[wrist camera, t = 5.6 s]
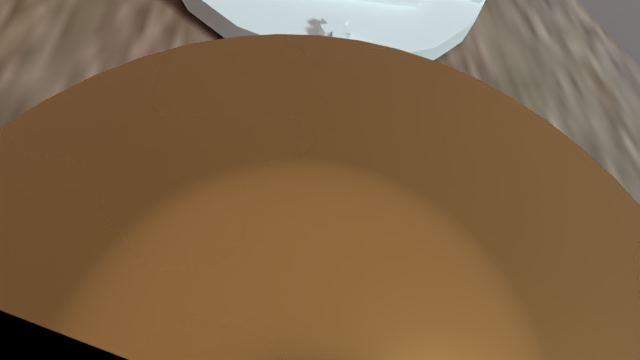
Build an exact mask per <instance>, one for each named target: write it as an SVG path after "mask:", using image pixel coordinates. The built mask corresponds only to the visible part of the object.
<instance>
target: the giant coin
mask: <svg viewBox="0 0 640 360" xmlns="http://www.w3.org/2000/svg"><path fill="white" fill-rule="evenodd" d="M182 1H183V3H184V5H185V6H186V8H187V9H188V11H189V12H191V13H192V14H193V15H195V16H196V17H197V18H199V19H200V20H201V21H203V22H204V23H205V24H206V25H208V26H209V27H210V28H212V29H213V30H214V31H216V32H217V33H218V34H220V35H221V36H222V37H224V38H230V37H239V36H254V35H268V34H296V35H321V36H329V37H337V38H345V39H353V40H360V41H364V42H369V43H373V44H378V45H382V46H387V47H391V48H396V49H400V50H403V51H406V52H409V53H412V54H415V55H418V56H421V57H424V58H427V59H431V60H435V59H437V58H438V57H440V56H441V55H442V54H444V53H445V52H447V51H448V50H450V49H451V48H453V47H454V46H456V45H457V44H459V43H460V42H462V41H463V39H464V38H465V36H466V34H467V33H468V31H469V30H470V28H471V27H472V25H473V24H474V22H475V20H476V18H477V16H478V14H479V12H480V10H481V8H482V6H483V4H484V2H485V0H182Z"/></svg>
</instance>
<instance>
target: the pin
mask: <svg viewBox="0 0 640 360" xmlns="http://www.w3.org/2000/svg"><path fill="white" fill-rule="evenodd" d="M0 360H640V205H639V204H638V203H637V202H636V201H635V200H634V199H633V198H632V196H631V195H630V194H629V193H628V192H627V191H626V190H625V189H624V188H623V187H622V186H621V184H620V183H619V182H618V181H617V180H616V179H615V178H614V177H613V176H612V175H610V174H609V173H608V172H607V171H606V170H605V169H604V168H603V167H602V166H601V165H600V164H599V163H597V162H596V161H595V160H594V159H593V158H592V157H591V156H590V155H589V154H588V153H587V152H586V151H584V150H583V149H582V148H581V147H580V146H579V145H577V144H576V143H575V142H573V141H572V140H571V139H570V138H568V137H567V136H566V135H564V134H563V133H562V132H561V131H559V130H558V129H557V128H556V127H554V126H553V125H552V124H550V123H549V122H548V121H547V120H545V119H544V118H542V117H540V116H539V115H537V114H536V113H534V112H533V111H531V110H530V109H528V108H527V107H525V106H524V105H522V104H521V103H519V102H517V101H516V100H514V99H513V98H511V97H510V96H508V95H506V94H504V93H502V92H500V91H498V90H497V89H495V88H493V87H491V86H489V85H487V84H485V83H483V82H482V81H480V80H478V79H476V78H474V77H472V76H470V75H467V74H465V73H463V72H460V71H458V70H455V69H453V68H451V67H448V66H446V65H444V64H441V63H439V62H437V61H434V60H431V59H427V58H424V57H421V56H418V55H415V54H412V53H409V52H406V51H403V50H400V49H396V48H391V47H387V46H382V45H378V44H373V43H369V42H364V41H360V40H353V39H345V38H337V37H329V36H321V35H296V34H268V35H254V36H239V37H230V38H224V39H218V40H212V41H206V42H200V43H194V44H189V45H185V46H181V47H178V48H174V49H170V50H166V51H163V52H159V53H155V54H152V55H148V56H144V57H141V58H139V59H136V60H133V61H131V62H128V63H126V64H123V65H120V66H118V67H115V68H113V69H110V70H107V71H105V72H102V73H99V74H97V75H94V76H92V77H90V78H88V79H86V80H84V81H82V82H80V83H78V84H76V85H74V86H72V87H70V88H68V89H66V90H64V91H62V92H60V93H58V94H56V95H54V96H52V97H50V98H48V99H46V100H44V101H43V102H41V103H40V104H38V105H37V106H35V107H33V108H32V109H30V110H29V111H27V112H26V113H24V114H22V115H21V116H19V117H18V118H16V119H14V120H13V121H11V122H10V123H8V124H7V125H5V126H3V127H2V128H0Z"/></svg>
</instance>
